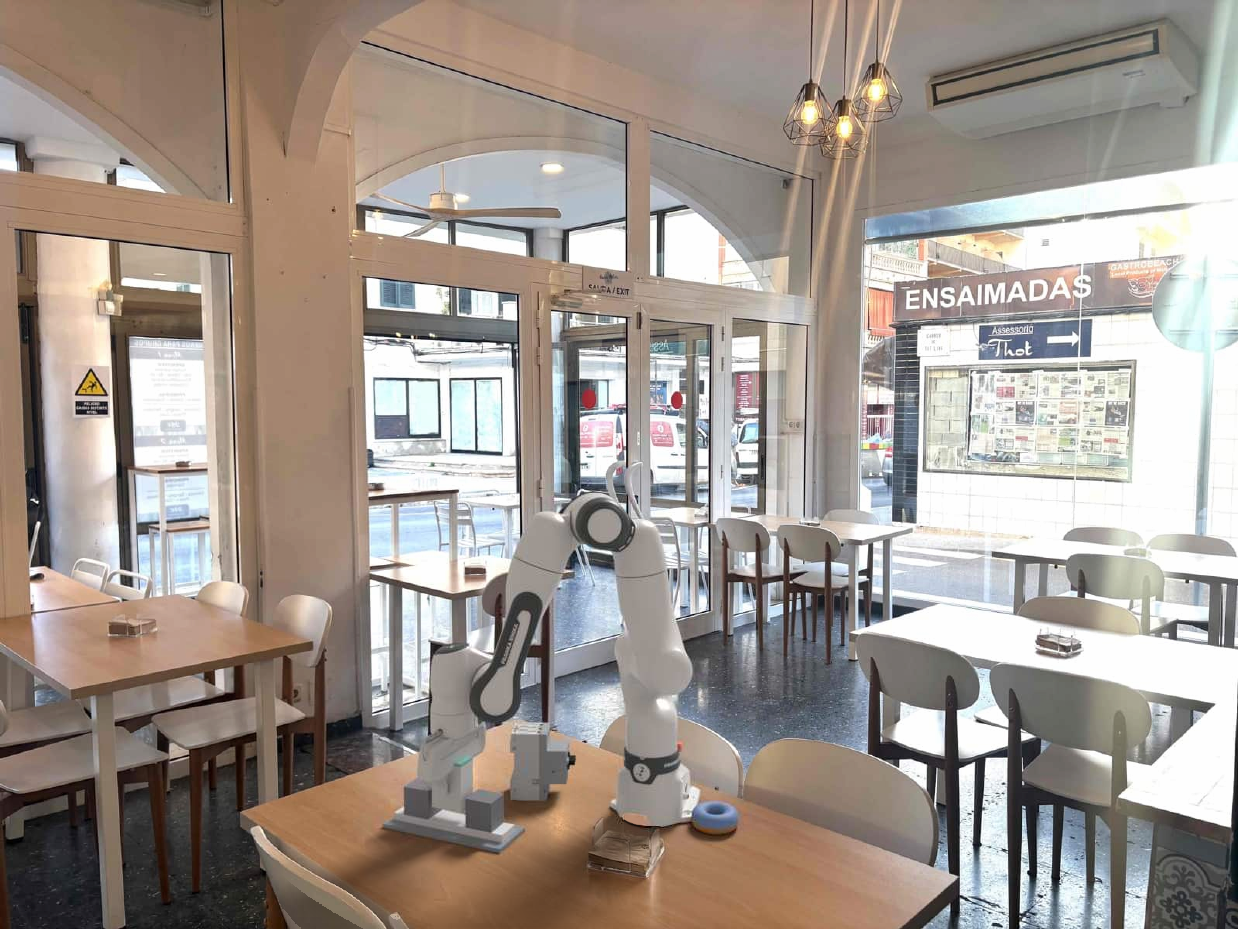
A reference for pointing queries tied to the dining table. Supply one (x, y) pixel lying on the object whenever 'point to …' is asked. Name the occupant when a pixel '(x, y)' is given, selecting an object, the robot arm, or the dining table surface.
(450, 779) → the block
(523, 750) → the circuit breaker
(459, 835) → the rail assembly
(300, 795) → the dining table surface
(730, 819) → the doughnut
